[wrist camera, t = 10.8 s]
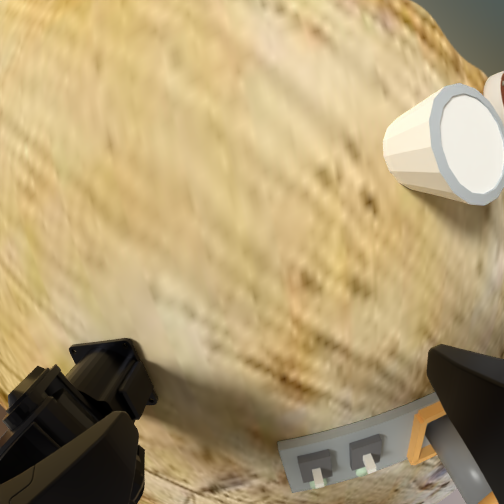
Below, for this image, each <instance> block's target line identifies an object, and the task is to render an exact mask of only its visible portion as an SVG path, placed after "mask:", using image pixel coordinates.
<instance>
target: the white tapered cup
mask: <svg viewBox="0 0 504 504" xmlns="http://www.w3.org/2000/svg"><path fill="white" fill-rule="evenodd" d="M383 152H384V159H385V161H386V164H387V166H388V169H389V171H390V173H391V174H392V175H393V176H394V177H395V179H396V180H397V181H398V182H399V183H400V184H402V185H404V186H406V187H407V188H409V189H411V190H416V191H420V192H424V193H428V194H432V195H436V196H440V197H444V198H448V199H452V200H456V201H459V202H463V203H467V204H472V205H484V206H485V205H487V204H488V203H490V202H491V201H493V200H495V199H496V198H498V196H499V195H500V193H501V191H502V190H503V188H504V126H503V123H502V120H501V119H500V117H499V115H498V114H497V112H496V110H495V109H494V107H493V106H492V104H491V103H490V101H488V100H487V99H486V98H485V97H484V96H483V95H482V94H481V93H480V92H478V91H477V90H476V89H474V88H472V87H469V86H466V85H463V84H461V83H458V84H453V85H449V86H445V87H443V88H441V89H440V90H438V91H437V92H435V93H434V94H432V95H431V96H429V97H428V98H426V99H425V100H423V101H422V102H420V103H419V104H417V105H416V106H414V107H413V108H411V109H410V110H408V111H407V112H405V113H404V114H402V115H401V116H399V117H398V118H396V119H395V120H394V121H393V122H392V123H391V124H390V126H389V127H388V128H387V130H386V133H385V136H384V139H383Z"/></svg>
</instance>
